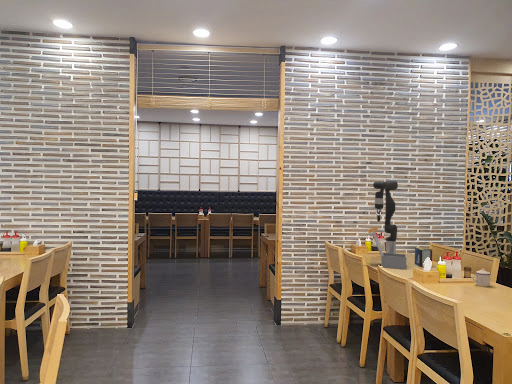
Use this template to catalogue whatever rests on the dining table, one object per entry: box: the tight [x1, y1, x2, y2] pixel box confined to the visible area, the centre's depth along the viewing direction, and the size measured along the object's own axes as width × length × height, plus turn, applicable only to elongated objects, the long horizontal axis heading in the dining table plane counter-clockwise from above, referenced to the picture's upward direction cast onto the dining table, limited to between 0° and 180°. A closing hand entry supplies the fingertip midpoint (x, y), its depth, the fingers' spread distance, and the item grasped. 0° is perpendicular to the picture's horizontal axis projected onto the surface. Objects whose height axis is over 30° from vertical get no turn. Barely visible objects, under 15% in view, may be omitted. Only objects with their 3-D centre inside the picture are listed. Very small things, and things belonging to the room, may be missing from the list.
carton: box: [380, 252, 408, 270], centre depth 346 cm, size 18×20×10 cm
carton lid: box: [367, 226, 384, 256], centre depth 351 cm, size 18×24×8 cm
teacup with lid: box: [471, 268, 491, 288], centre depth 282 cm, size 12×9×12 cm
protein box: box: [414, 246, 433, 268], centre depth 353 cm, size 10×15×16 cm
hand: (378, 221), depth 361 cm, fingers open, 8 cm apart
